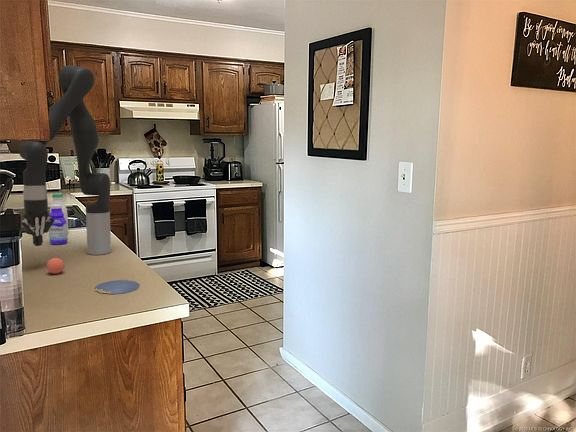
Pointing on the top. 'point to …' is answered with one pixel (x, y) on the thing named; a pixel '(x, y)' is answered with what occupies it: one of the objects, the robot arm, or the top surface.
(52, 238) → the bottle
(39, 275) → the top surface
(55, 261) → the ball
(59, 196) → the milk bottle
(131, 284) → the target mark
